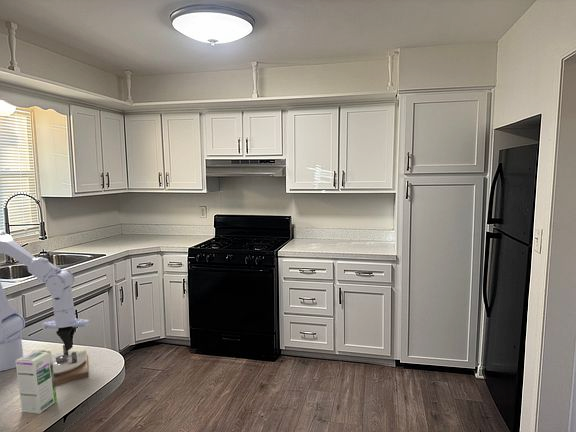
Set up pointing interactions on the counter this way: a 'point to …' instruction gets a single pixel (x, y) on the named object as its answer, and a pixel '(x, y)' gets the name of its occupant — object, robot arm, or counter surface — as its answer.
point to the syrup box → (36, 381)
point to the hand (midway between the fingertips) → (69, 348)
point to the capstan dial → (67, 361)
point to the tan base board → (73, 373)
